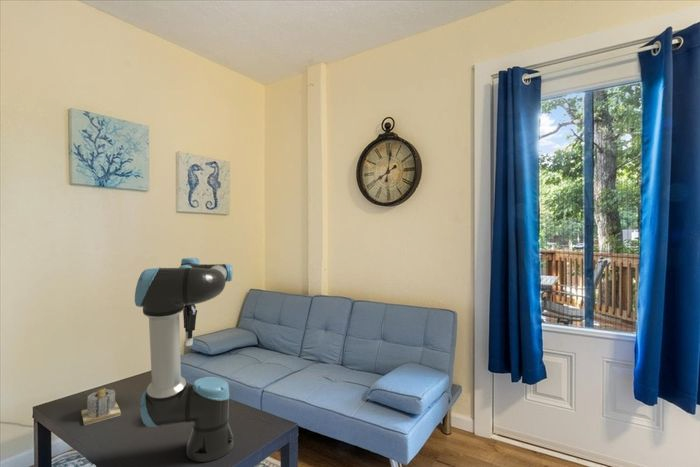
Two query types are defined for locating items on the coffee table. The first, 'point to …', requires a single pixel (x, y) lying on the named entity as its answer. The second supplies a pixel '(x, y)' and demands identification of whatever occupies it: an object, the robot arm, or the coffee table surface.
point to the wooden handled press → (91, 420)
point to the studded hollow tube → (100, 404)
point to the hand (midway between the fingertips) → (189, 345)
